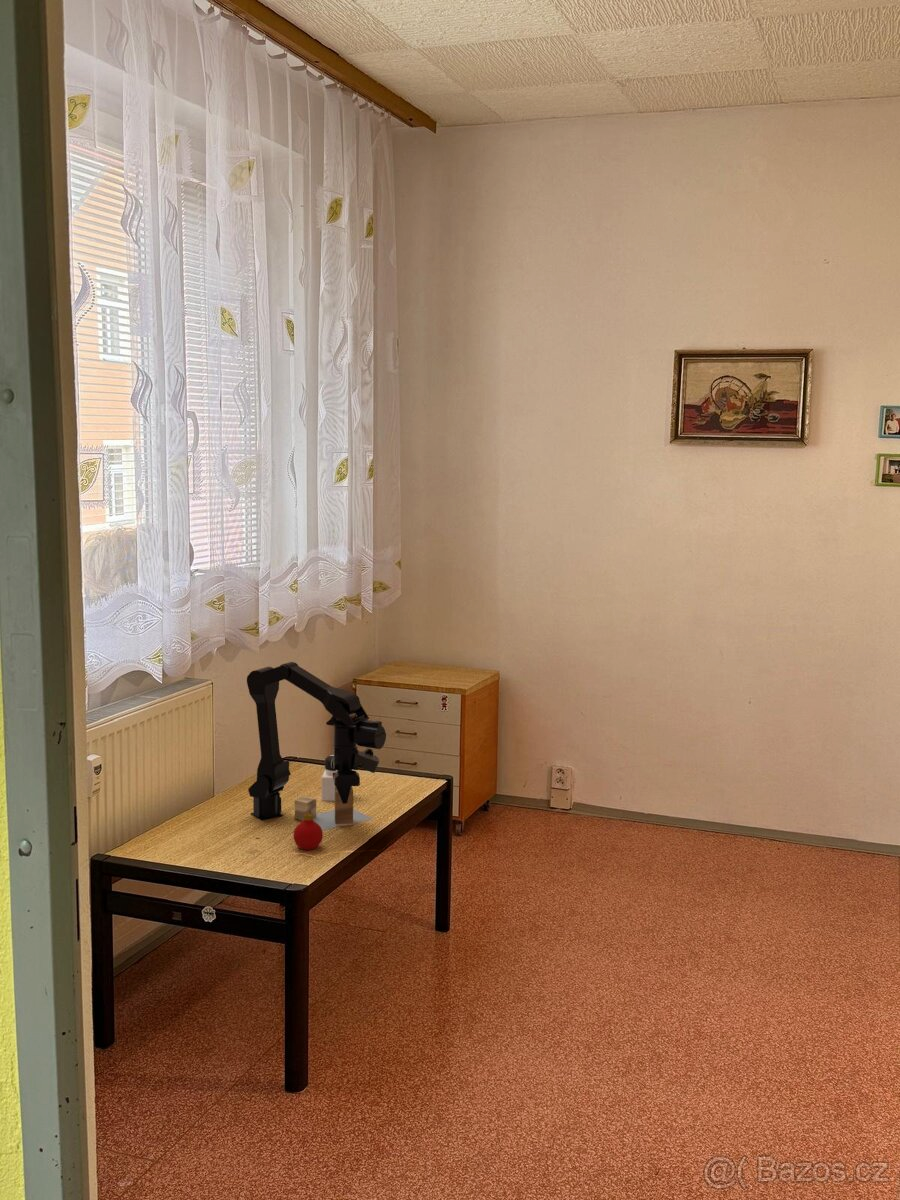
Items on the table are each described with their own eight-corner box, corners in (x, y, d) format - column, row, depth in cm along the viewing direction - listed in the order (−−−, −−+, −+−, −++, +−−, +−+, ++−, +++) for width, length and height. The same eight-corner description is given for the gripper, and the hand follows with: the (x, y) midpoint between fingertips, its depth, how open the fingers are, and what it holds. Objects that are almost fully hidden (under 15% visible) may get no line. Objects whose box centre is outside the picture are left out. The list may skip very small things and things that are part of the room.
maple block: (306, 821, 296) (306, 802, 295) (294, 818, 298) (294, 800, 297) (316, 817, 299) (316, 798, 298) (304, 814, 301) (304, 796, 300)
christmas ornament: (308, 856, 272) (308, 816, 271) (287, 849, 276) (287, 810, 275) (328, 848, 278) (329, 809, 276) (307, 842, 282) (307, 803, 281)
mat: (321, 832, 289) (321, 830, 289) (297, 819, 298) (297, 818, 298) (373, 820, 299) (373, 818, 299) (347, 808, 308) (348, 806, 308)
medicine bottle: (347, 802, 313) (347, 760, 311) (321, 802, 313) (321, 759, 311) (350, 794, 320) (350, 753, 318) (324, 794, 320) (324, 752, 318)
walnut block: (353, 825, 293) (353, 791, 292) (335, 825, 293) (335, 792, 291) (351, 819, 298) (352, 786, 297) (334, 819, 297) (334, 786, 296)
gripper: (380, 752, 279) (379, 814, 281) (373, 733, 297) (373, 790, 299) (334, 754, 277) (334, 815, 279) (331, 734, 295) (330, 792, 298)
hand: (344, 803), depth 289 cm, fingers closed
